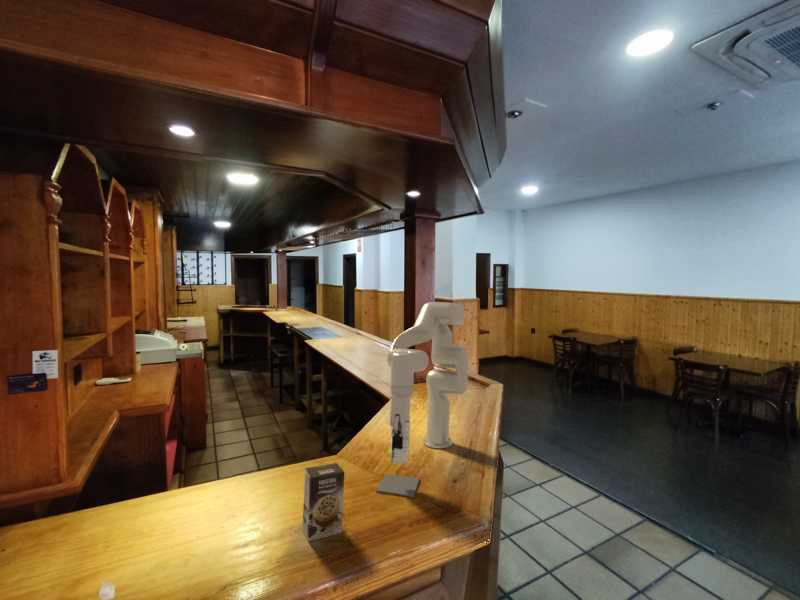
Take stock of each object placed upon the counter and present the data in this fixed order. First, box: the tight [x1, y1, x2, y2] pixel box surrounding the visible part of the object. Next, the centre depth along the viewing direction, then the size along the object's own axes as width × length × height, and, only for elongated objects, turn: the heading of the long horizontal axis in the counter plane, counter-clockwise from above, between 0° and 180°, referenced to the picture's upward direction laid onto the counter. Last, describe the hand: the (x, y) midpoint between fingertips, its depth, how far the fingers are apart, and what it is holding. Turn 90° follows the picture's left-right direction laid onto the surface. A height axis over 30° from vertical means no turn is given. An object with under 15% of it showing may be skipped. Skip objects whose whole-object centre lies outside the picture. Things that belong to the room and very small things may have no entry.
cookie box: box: [302, 462, 345, 542], centre depth 99 cm, size 9×6×16 cm
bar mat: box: [375, 473, 421, 498], centre depth 124 cm, size 12×12×1 cm
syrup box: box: [389, 416, 411, 464], centre depth 124 cm, size 6×6×14 cm
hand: (400, 443), depth 124 cm, fingers closed on syrup box, 6 cm apart
